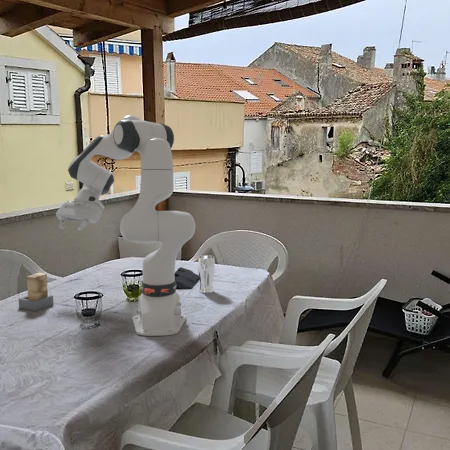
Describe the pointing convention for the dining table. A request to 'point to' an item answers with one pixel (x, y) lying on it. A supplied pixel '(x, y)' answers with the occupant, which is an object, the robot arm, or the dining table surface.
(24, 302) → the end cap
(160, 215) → the robot arm
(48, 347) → the dining table surface
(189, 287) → the dark slate chunk
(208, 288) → the beer glass
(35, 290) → the tan rectangular block
